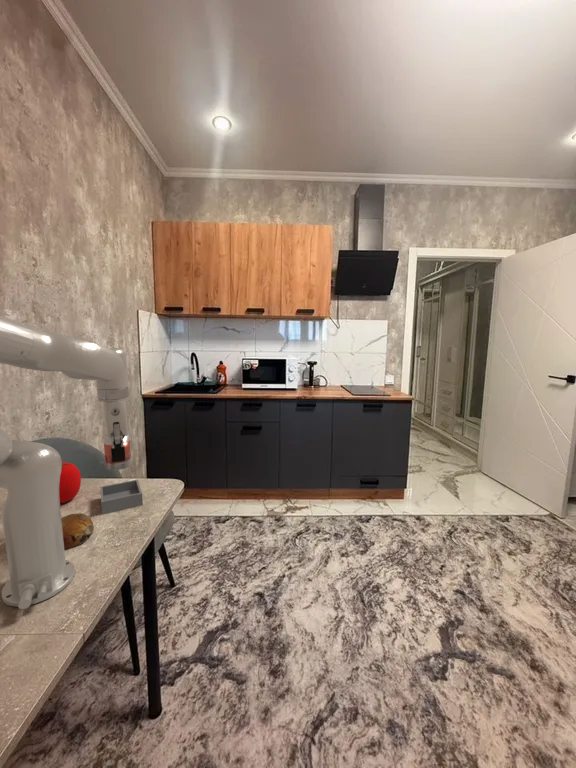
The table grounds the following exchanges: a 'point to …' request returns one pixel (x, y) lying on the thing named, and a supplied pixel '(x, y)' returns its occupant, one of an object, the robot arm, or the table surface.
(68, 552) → the table surface
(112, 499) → the crate
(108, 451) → the red drink can
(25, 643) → the table surface
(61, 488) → the tomato
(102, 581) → the table surface
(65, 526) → the bread roll
